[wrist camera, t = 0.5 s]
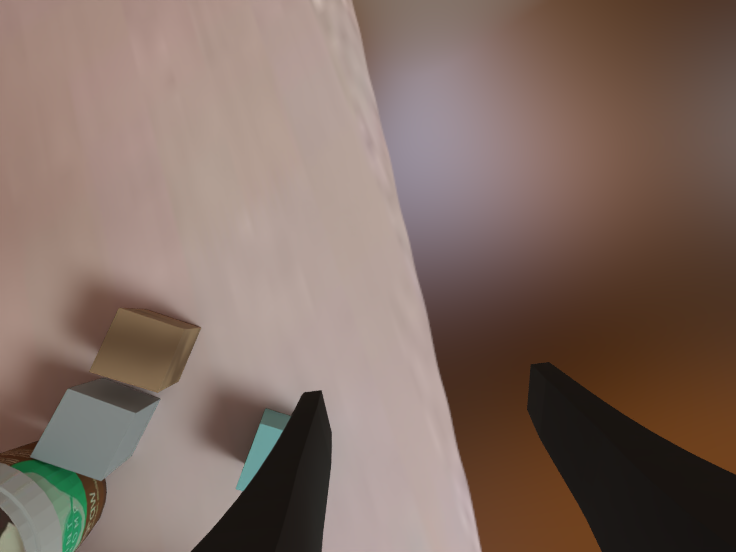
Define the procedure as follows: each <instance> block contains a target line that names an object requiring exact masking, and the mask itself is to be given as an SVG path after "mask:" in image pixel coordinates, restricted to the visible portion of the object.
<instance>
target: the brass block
mask: <svg viewBox="0 0 736 552" xmlns="http://www.w3.org/2000/svg"><path fill="white" fill-rule="evenodd" d="M200 329H201V327H198V326H195V325H192V324H189V323H186V322H183V321H180V320H177V319H174V318H171V317H168V316H165V315H162V314H159V313H156V312H153V311H150V310H146V309H133V308H119V309H118V311H117V313H116V315H115V317H114V320H113V322H112V324H111V326H110V328H109V330H108V332H107V335H106V337H105V339H104V341H103V343H102V345H101V347H100V350H99V352H98V354H97V356H96V358H95V360H94V362H93V365H92V367H91V369H90V371H89V372H91V373H94V374H97V375H101V376H104V377H107V378H111V379H114V380H117V381H121V382H124V383H127V384H130V385H134V386H137V387H140V388H144V389H147V390H150V391H154V392H157V393H158V392H160V391H162V390H163V389H165V388H167V387H169V386H171V385H173V384H175V383H177V382H178V381H179V379H180V377H181V374H182V372H183V370H184V367H185V365H186V362H187V360H188V358H189V355H190V353H191V351H192V348H193V346H194V344H195V341H196V339H197V336H198V334H199V332H200Z"/></svg>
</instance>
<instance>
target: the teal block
mask: <svg viewBox="0 0 736 552" xmlns="http://www.w3.org/2000/svg"><path fill="white" fill-rule="evenodd" d="M290 417H291V416H289V415H286V414H283V413H279V412H276V411H273V410H270V409H265V411H264V414H263V417H262V419H261V422H260V425H259V427H258V430H257V433H256V435H255V438H254V441H253V443H252V446H251V449H250V451H249V454H248V457H247V459H246V462H245V465H244V467H243V470H242V473H241V476H240V478H239V481H238V484H237V487H236V489H237V490H241V491H244V489H245V488H246V487H247V485H248V484H249V483H250V481H251V480H252V478H253V477H254V476H255V474H256V473H257V471H258V470H259V468H260V467H261V465H262V464H263V462H264V461H265V459H266V458H267V456H268V455H269V453H270V452H271V450H272V448H273V447H274V445H275V444H276V442H277V440H278V438H279V437H280V435H281V433H282V432H283V430H284V428H285V426H286V425H287V423H288V421H289V419H290Z"/></svg>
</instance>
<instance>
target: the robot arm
mask: <svg viewBox="0 0 736 552" xmlns="http://www.w3.org/2000/svg"><path fill="white" fill-rule="evenodd" d="M527 410H528V412H529V415H530V417H531V419H532V422H533V424H534V426H535V428H536V431H537V433H538V435H539V438H540V439H541V441H542V443H543V445H544V446H545V448H546V450H547V452H548V453H549V455H550V457H551V459H552V460H553V462H554V464H555V465H556V467H557V469H558V471H559V472H560V474H561V475H562V477H563V479H564V481H565V482H566V484H567V486H568V488H569V489H570V491H571V493H572V494H573V496H574V498H575V500H576V501H577V503H578V504H579V507H580V508H581V510H582V512H583V514H584V516H585V517H586V519H587V522H588V523H589V525H590V528H591V530H592V532H593V534H594V536H595V538H596V540H597V543H598V545H599V547H600V549H601V551H602V552H736V475H735V474H733V473H731V472H729V471H726V470H724V469H722V468H720V467H718V466H716V465H714V464H712V463H710V462H708V461H706V460H704V459H701V458H700V457H697V456H696V455H694V454H692V453H690V452H688V451H686V450H684V449H682V448H680V447H678V446H677V445H675V444H673V443H671V442H670V441H668V440H666V439H664V438H662V437H660V436H659V435H657V434H655V433H653V432H651V431H650V430H648V429H647V428H645V427H643V426H642V425H640V424H638V423H637V422H635V421H634V420H632V419H630V418H629V417H627V416H625V415H624V414H622V413H621V412H619V411H618V410H616V409H615V408H613V407H612V406H610V405H609V404H607V403H606V402H604V401H603V400H601V399H600V398H598V397H597V396H596V395H594V394H593V393H591V392H590V391H588V390H587V389H586V388H584V387H583V386H581V385H580V384H579V383H577V382H576V381H574V380H573V379H572V378H570V377H569V376H568V375H566V374H565V373H563V372H562V371H561V370H559V369H558V368H556V367H555V366H554V365H552V364H551V363H549V362H547V363H538V364H531V369H530V381H529V393H528V405H527ZM331 453H332V432H331V428H330V424H329V420H328V415H327V411H326V407H325V403H324V399H323V395H322V390H320V391H312V392H304V393H303V394H302V396H301V398H300V400H299V402H298V404H297V406H296V408H295V410H294V412H293V413H292V415H291V417H290V419H289V421H288V423H287V425H286V426H285V428H284V430H283V432H282V433H281V435H280V437H279V438H278V440H277V442H276V444H275V445H274V447H273V448H272V450H271V452H270V453H269V455H268V456H267V458H266V459H265V461H264V462H263V464H262V465H261V467H260V468H259V470H258V471H257V473H256V474H255V476H254V477H253V478H252V480H251V481H250V483H249V484H248V485H247V487H246V488H245V489H244V491H243V492H242V493H241V495H240V496H239V497H238V499H237V500H236V501H235V502H234V503H233V505H232V506H231V507H230V508H229V510H228V511H227V512H226V513H225V514H224V516H223V517H222V518H221V519H220V520H219V522H218V523H217V524H216V525H215V526H214V527H213V528H212V530H211V531H210V532H209V533H208V534H207V535H206V536H205V537H204V538H203V539H202V540H201V541H200V542H199V543H198V544H197V546H196V547H195V548H194V549H193V550H192V551H191V552H322V539H323V529H324V521H325V513H326V504H327V496H328V488H329V479H330V470H331Z"/></svg>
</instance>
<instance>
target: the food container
mask: <svg viewBox="0 0 736 552" xmlns="http://www.w3.org/2000/svg"><path fill="white" fill-rule="evenodd" d="M38 442H39V441H37V442H34V443H31V444H28V445H24V446H21V447H18V448H15V449H12V450H9V451H6V452H3V453H0V552H75V551H76V550H77V548H78V547H79V546H80V544H81V543H82V542H83V541H84V539H85V538H86V537H87V536H88V534H89V533H90V531H91V530H92V528H93V527H94V525H95V524H96V523H97V521H98V520H99V518H100V516H101V513H102V510H103V507H104V505H105V501H106V493H107V492H106V481H105V478H104V479H103V480H102V481H99V480H96V479H93V478H90V477H87V476H84V475H82V474H79V473H76V472H73V471H70V470H67V469H64V468H61V467H58V466H55V465H52V464H49V463H46V462H43V461H40V460H37V459H34V458H31V457H30V456H31V454H32V452H33V451H34V449H35V447H36V445H37V443H38Z"/></svg>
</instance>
